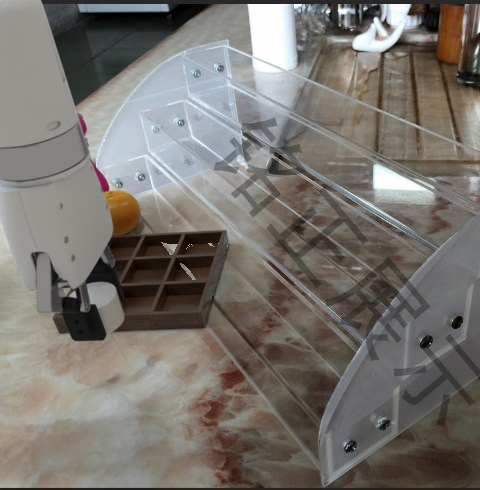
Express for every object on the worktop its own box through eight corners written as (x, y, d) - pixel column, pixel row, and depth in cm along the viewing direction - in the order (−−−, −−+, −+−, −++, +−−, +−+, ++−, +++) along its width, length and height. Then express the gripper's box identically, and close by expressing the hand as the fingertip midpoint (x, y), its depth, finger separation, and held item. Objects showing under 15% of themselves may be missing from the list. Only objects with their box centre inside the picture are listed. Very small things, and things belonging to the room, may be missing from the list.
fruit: (149, 194, 103) (114, 170, 96) (150, 233, 98) (114, 210, 92) (113, 215, 105) (76, 193, 99) (112, 254, 100) (74, 233, 94)
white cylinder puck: (69, 338, 57) (58, 312, 55) (86, 307, 60) (77, 282, 59) (116, 337, 56) (106, 311, 55) (130, 305, 60) (122, 280, 58)
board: (58, 332, 79) (52, 318, 78) (108, 249, 96) (103, 235, 94) (204, 327, 78) (200, 312, 76) (229, 243, 94) (226, 229, 93)
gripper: (38, 112, 55) (93, 269, 66) (-68, 204, 41) (24, 386, 52) (116, 108, 55) (160, 267, 65) (36, 200, 41) (108, 384, 51)
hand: (99, 318), depth 58 cm, fingers closed on white cylinder puck, 4 cm apart
